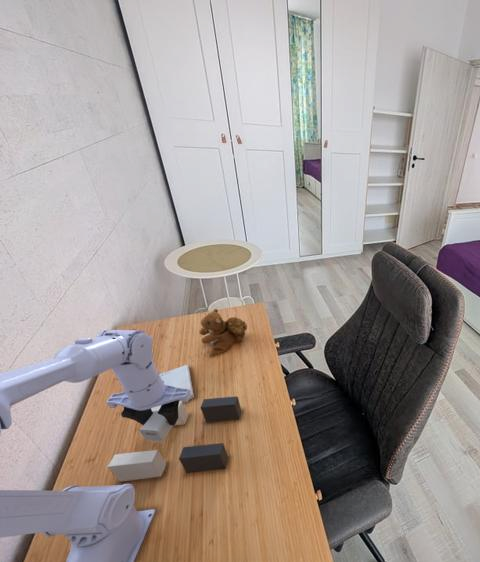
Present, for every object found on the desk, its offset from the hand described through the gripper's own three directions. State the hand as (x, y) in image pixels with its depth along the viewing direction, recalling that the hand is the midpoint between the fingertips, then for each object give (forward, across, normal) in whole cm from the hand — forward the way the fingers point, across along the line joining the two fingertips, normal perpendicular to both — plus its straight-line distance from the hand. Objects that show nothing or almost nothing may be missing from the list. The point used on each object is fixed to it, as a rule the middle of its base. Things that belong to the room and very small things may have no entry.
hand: (163, 422), depth 62 cm
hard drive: (+8, +7, -16) cm, 20 cm away
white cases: (+8, +4, 0) cm, 9 cm away
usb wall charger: (+2, 0, 0) cm, 2 cm away
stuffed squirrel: (+8, -2, -35) cm, 36 cm away
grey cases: (+8, -9, 0) cm, 13 cm away
